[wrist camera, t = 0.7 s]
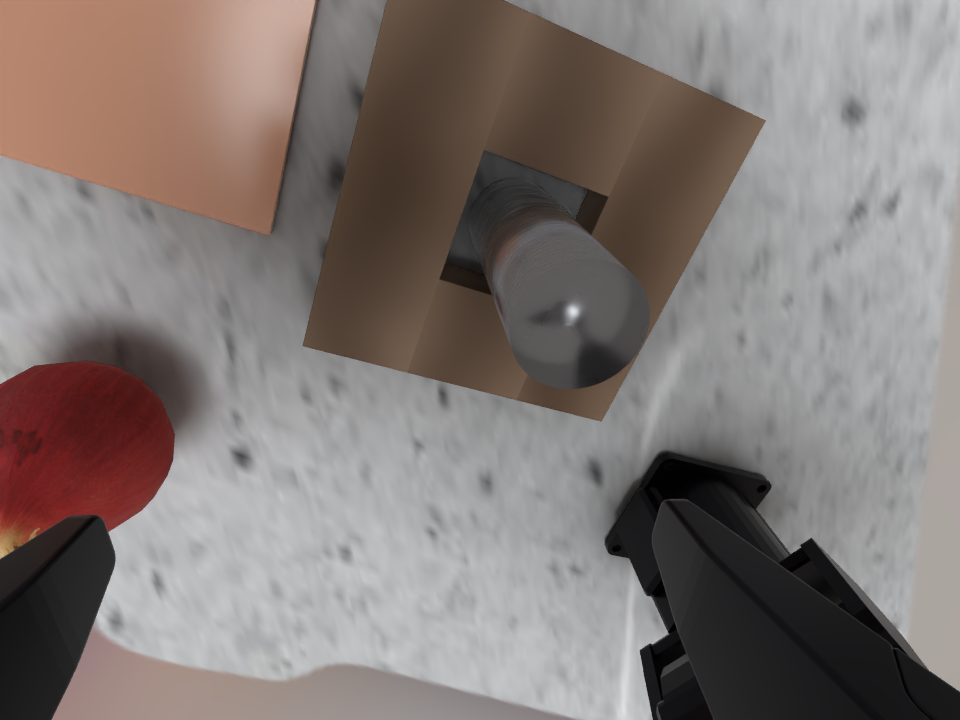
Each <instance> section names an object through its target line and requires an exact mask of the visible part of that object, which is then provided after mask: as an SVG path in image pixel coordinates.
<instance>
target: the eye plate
mask: <svg viewBox="0 0 960 720" xmlns="http://www.w3.org/2000/svg"><path fill="white" fill-rule="evenodd" d="M765 121H766V120H764V119H761V118H759V117H757V116H755V115H753V114H751V113H748V112H746V111H744V110H742V109H740V108H737V107H735V106H733V105H731V104H729V103H727V102H724V101H722V100H720V99H718V98H716V97H713V96H711V95H709V94H707V93H705V92H703V91H700V90H698V89H696V88H694V87H692V86H689V85H687V84H685V83H683V82H681V81H678V80H676V79H674V78H672V77H670V76H668V75H665V74H663V73H661V72H659V71H657V70H654V69H652V68H650V67H648V66H646V65H644V64H641V63H639V62H637V61H635V60H633V59H630V58H628V57H626V56H624V55H622V54H620V53H617V52H615V51H613V50H611V49H609V48H606V47H604V46H602V45H600V44H598V43H595V42H593V41H591V40H589V39H587V38H585V37H582V36H580V35H578V34H576V33H574V32H571V31H569V30H567V29H565V28H563V27H561V26H558V25H556V24H554V23H552V22H550V21H547V20H545V19H543V18H541V17H539V16H537V15H534V14H532V13H530V12H528V11H526V10H523V9H521V8H519V7H517V6H515V5H513V4H510V3H508V2H506V1H504V0H387V2H386V6H385V10H384V14H383V18H382V22H381V27H380V31H379V35H378V39H377V43H376V47H375V51H374V55H373V59H372V63H371V68H370V72H369V76H368V80H367V84H366V88H365V92H364V96H363V100H362V104H361V109H360V113H359V117H358V121H357V125H356V129H355V133H354V137H353V141H352V145H351V150H350V154H349V158H348V162H347V166H346V170H345V174H344V178H343V182H342V186H341V191H340V195H339V199H338V203H337V207H336V211H335V215H334V219H333V223H332V227H331V232H330V236H329V240H328V244H327V248H326V252H325V256H324V260H323V264H322V268H321V273H320V277H319V281H318V285H317V289H316V293H315V297H314V301H313V305H312V309H311V314H310V318H309V322H308V326H307V330H306V334H305V338H304V342H303V346H304V347H308V348H312V349H316V350H320V351H324V352H328V353H332V354H336V355H340V356H344V357H348V358H352V359H356V360H360V361H364V362H368V363H372V364H376V365H380V366H384V367H388V368H392V369H395V370H399V371H403V372H407V373H411V374H415V375H419V376H423V377H427V378H431V379H435V380H439V381H443V382H447V383H451V384H455V385H459V386H463V387H467V388H471V389H475V390H479V391H483V392H487V393H491V394H494V395H498V396H502V397H506V398H510V399H514V400H518V401H522V402H526V403H530V404H534V405H538V406H542V407H546V408H550V409H554V410H558V411H562V412H566V413H570V414H574V415H578V416H582V417H586V418H590V419H594V420H597V421H602V420H603V418H604V416H605V414H606V412H607V410H608V409H609V407H610V405H611V403H612V401H613V399H614V398H615V396H616V394H617V392H618V390H619V388H620V387H621V385H622V383H623V381H624V379H625V377H626V376H627V374H628V372H629V370H630V368H631V366H632V365H633V363H634V361H635V359H636V357H637V355H638V354H639V352H640V350H641V348H642V347H641V348H640V350H639V351H638V353H637V354H636V356H635V357H634V358H633V359H632V361H631V362H630V363H629V364H628V365H627V366H626V367H625V368H624V369H622V370H621V371H620V372H619V373H617V374H616V375H614V376H613V377H611V378H609V379H607V380H605V381H604V382H601V383H599V384H596V385H593V386H590V387H586V388H579V389H559V388H554V387H550V386H547V385H544V384H542V383H540V382H538V381H536V380H535V379H533V378H532V377H530V376H529V375H528V374H527V373H526V372H525V371H524V370H523V369H522V368H521V366H520V365H519V364H518V362H517V360H516V359H515V356H514V354H513V352H512V349H511V346H510V343H509V341H508V338H507V335H506V332H505V330H504V327H503V324H502V321H501V319H500V316H499V313H498V310H497V308H496V305H495V302H494V299H493V297H492V294H491V291H490V288H489V286H488V283H487V280H486V277H485V276H484V275H481V274H478V273H474V272H471V271H468V270H465V269H462V268H458V267H455V266H452V265H449V264H446V263H445V262H446V259H447V256H448V253H449V250H450V247H451V244H452V241H453V238H454V236H455V233H456V230H457V227H458V224H459V221H460V218H461V215H462V212H463V209H464V207H465V204H466V201H467V198H468V195H469V192H470V189H471V186H472V183H473V180H474V178H475V175H476V172H477V169H478V166H479V163H480V160H481V157H482V154H483V151H484V150H486V151H488V152H491V153H493V154H496V155H499V156H501V157H504V158H507V159H509V160H512V161H515V162H517V163H520V164H523V165H525V166H528V167H531V168H533V169H536V170H539V171H541V172H544V173H547V174H549V175H552V176H555V177H557V178H560V179H563V180H565V181H568V182H570V183H573V184H576V185H578V186H581V187H584V188H586V189H589V190H588V193H587V195H586V197H585V200H584V202H583V204H582V206H581V209H580V211H579V213H578V216H577V218H576V221H577V222H578V223H579V224H580V225H581V226H582V227H583V228H584V229H585V230H586V231H587V232H588V233H589V234H591V235H592V236H593V237H594V238H595V239H596V240H597V241H598V242H599V243H600V244H601V245H602V246H603V247H604V248H605V249H606V250H607V251H608V252H609V253H611V254H612V255H613V256H614V257H615V258H616V259H617V260H618V261H619V262H620V263H621V264H622V265H623V266H624V267H625V268H626V269H627V270H628V271H630V272H631V273H632V274H633V275H634V276H635V277H636V279H637V280H638V281H639V282H640V284H641V285H642V287H643V289H644V290H645V293H646V295H647V298H648V302H649V308H650V322H649V328H648V332H647V335H646V338H645V340H644V342H643V344H644V343H645V341H646V339H647V337H648V335H649V334H650V332H651V330H652V328H653V326H654V324H655V323H656V321H657V319H658V317H659V315H660V313H661V312H662V310H663V308H664V306H665V304H666V302H667V301H668V299H669V297H670V295H671V293H672V291H673V290H674V288H675V286H676V284H677V282H678V280H679V279H680V277H681V275H682V273H683V271H684V269H685V268H686V266H687V264H688V262H689V260H690V258H691V257H692V255H693V253H694V251H695V249H696V247H697V246H698V244H699V242H700V240H701V238H702V236H703V235H704V233H705V231H706V229H707V227H708V225H709V224H710V222H711V220H712V218H713V216H714V214H715V213H716V211H717V209H718V207H719V205H720V204H721V202H722V200H723V198H724V196H725V194H726V193H727V191H728V189H729V187H730V185H731V183H732V182H733V180H734V178H735V176H736V174H737V172H738V171H739V169H740V167H741V165H742V163H743V161H744V160H745V158H746V156H747V154H748V152H749V150H750V149H751V147H752V145H753V143H754V141H755V139H756V138H757V136H758V134H759V132H760V130H761V128H762V127H763V125H764V123H765ZM643 344H642V346H643Z"/></svg>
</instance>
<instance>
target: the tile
mask: <svg viewBox="0 0 960 720" xmlns="http://www.w3.org/2000/svg"><path fill="white" fill-rule="evenodd" d="M316 5H317V0H0V155H2V156H5V157H9V158H12V159H15V160H19V161H22V162H25V163H29V164H32V165H35V166H39V167H42V168H45V169H49V170H52V171H55V172H59V173H62V174H65V175H69V176H72V177H75V178H79V179H82V180H85V181H89V182H92V183H95V184H99V185H102V186H105V187H109V188H112V189H115V190H119V191H122V192H125V193H129V194H132V195H135V196H139V197H142V198H145V199H149V200H152V201H155V202H159V203H162V204H165V205H169V206H172V207H175V208H179V209H182V210H185V211H189V212H192V213H195V214H199V215H202V216H206V217H209V218H212V219H216V220H219V221H222V222H226V223H229V224H232V225H236V226H239V227H242V228H246V229H249V230H252V231H256V232H259V233H262V234H266V235H270V234H271V233H272V229H273V224H274V219H275V214H276V209H277V204H278V198H279V193H280V188H281V183H282V178H283V173H284V168H285V163H286V158H287V153H288V148H289V142H290V137H291V132H292V127H293V122H294V117H295V112H296V107H297V102H298V97H299V92H300V87H301V81H302V76H303V71H304V66H305V61H306V56H307V51H308V46H309V41H310V36H311V31H312V26H313V20H314V15H315V10H316Z"/></svg>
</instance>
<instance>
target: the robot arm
mask: <svg viewBox="0 0 960 720" xmlns="http://www.w3.org/2000/svg"><path fill="white" fill-rule="evenodd" d="M667 463H669V464H668V465H665V464H667ZM664 465H665V466H664ZM770 489H771V484H770V482H769V481H768V480H767V479H766V478H765V477H764V476H761V475H757V474H752V473H748V472H744V471H740V470H736V469H732V468H728V467H724V466H720V465H716V464H712V463H707V462H703V461H699V460H695V459H691V458H687V457H683V456H679V455H675V454H671V453H665V454H662V455H661V456H659V457H658V458H657V459H656V461H655V462H654V464H653V466H652V467H651V469H650V470H649V472H648V474H647V475H646V477H645V478H644V480H643V482H642V483H641V485H640V487H639V488H638V490H637V491H636V493H635V495H634V496H633V498H632V499H631V501H630V503H629V504H628V506H627V507H626V509H625V511H624V512H623V514H622V516H621V517H620V519H619V520H618V522H617V524H616V525H615V527H614V528H613V530H612V532H611V533H610V535H609V536H608V538H607V540H606V542H605V547H606V549H607V551H608V553H609V554H611V555H615V556H620V557H626V558H629V559H630V561H631V563H632V565H633V568H634V570H635V572H636V574H637V577H638V579H639V581H640V583H641V586H642V588H643V590H644V592H645V594H646V595H647V596H652V598H653V600H654V602H655V605H656V607H657V609H658V611H659V613H660V616H661V618H662V620H663V622H664V624H665V627H666V629H667V631H668V633H669V634H668V635H666V636H665V637H663V638H662V639H660V640H659V641H657V642H656V643H654V644H653V645H652V644H648V645H647V646H645V647H644V648H642V649H641V650H640V655H641V660H642V665H643V672H644V677H645V682H646V687H647V692H648V697H649V702H650V707H651V712H652V717H653V720H960V692H959V691H958V690H956V689H955V688H953V687H952V686H951V685H949V684H948V683H946V682H945V681H943V680H942V679H940V678H939V677H937V676H936V675H935V674H933V673H932V672H930V671H929V670H928V669H927V667H926V666H925V665H924V663H923V662H922V661H921V660H920V658H919V657H918V656H917V654H916V653H915V652H914V650H913V649H912V648H911V646H910V645H909V644H908V643H907V641H906V640H905V639H904V637H903V636H902V635H901V634H900V632H899V631H898V630H897V629H896V628H895V627H894V626H893V624H892V623H891V622H890V621H889V620H888V619H887V618H886V616H885V615H884V614H883V613H882V612H881V611H880V610H879V608H878V607H877V606H876V605H875V604H874V603H873V602H872V601H871V599H870V598H869V597H868V596H867V595H866V594H865V593H864V591H863V590H862V589H861V588H860V587H859V586H858V585H857V584H856V583H855V582H854V581H853V580H852V579H851V578H850V577H849V576H848V575H847V574H846V572H845V571H844V570H843V569H842V568H841V567H840V566H839V565H838V564H837V563H836V562H835V561H834V560H833V559H832V558H831V557H830V556H829V555H828V554H827V553H826V552H825V551H824V550H823V549H822V548H821V547H820V546H819V545H818V544H817V543H816V542H815V541H814V540H813V539H812V538H810V539H809V540H807V541H806V542H804V543H803V544H801V545H800V546H801V548H800V549H798V550H797V551H795V552H794V553H792V554H790V552H789V551H788V550H787V549H786V547H785V546H784V545H783V543H782V542H781V541H780V540H779V538H778V537H777V536H776V534H775V533H774V532H773V531H772V529H771V528H770V527H769V525H768V524H767V523H766V522H765V520H764V519H763V518H762V516H761V515H760V514H759V513H758V511H757V510H756V508H757V507H758V505H759V504H760V503H761V501H762V500H763V499H764V497H765V496H766V495H767V493H768V492H769V491H770ZM114 566H115V551H114V548H113V545H112V542H111V539H110V536H109V533H108V530H107V527H106V525H105V522H104V520H103V518H102V517H100V516H99V515H73V516H69V517H66V518H65V519H63V520H61V521H59V522H58V523H56V524H55V525H53V526H52V527H50V528H48V529H47V530H45V531H44V532H42V533H40V534H39V535H37V536H36V537H34V538H32V539H31V540H29V541H28V542H26V543H25V544H23V545H21V546H20V547H18V548H17V549H15V550H13V551H12V552H10V553H9V554H7V555H5V556H4V557H2V558H1V559H0V720H52V718H53V715H54V713H55V711H56V709H57V707H58V705H59V703H60V701H61V699H62V697H63V695H64V693H65V691H66V689H67V687H68V685H69V683H70V681H71V678H72V676H73V674H74V672H75V670H76V668H77V665H78V663H79V660H80V658H81V655H82V653H83V651H84V648H85V645H86V642H87V640H88V637H89V634H90V632H91V629H92V626H93V624H94V621H95V618H96V616H97V613H98V610H99V607H100V605H101V602H102V599H103V597H104V594H105V591H106V589H107V586H108V583H109V581H110V578H111V575H112V572H113V570H114Z"/></svg>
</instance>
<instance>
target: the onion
mask: <svg viewBox="0 0 960 720" xmlns="http://www.w3.org/2000/svg"><path fill="white" fill-rule="evenodd" d="M174 438H175V433H174V431H173V428H172V426H171V423H170V421H169V418H168V416H167V413H166V411H165V408H164V406H163V403H162V401H161V399H160V398H159V397H158V396H157V395H156V394H155V393H154V392H153V391H152V390H151V389H150V388H149V387H148V386H147V385H146V384H145V383H144V381H143V380H141V379H139V378H137V377H135V376H133V375H131V374H129V373H128V372H126V371H124V370H122V369H120V368H118V367H115V366H110V365H106V364H101V363H96V362H91V361H78V362H67V363H56V364H47V365H38V366H33V367H31V368H29V369H28V370H26V371H24V372H22V373H20V374H18V375H16V376H14V377H13V378H11V379H9V380H7V381H5V382H3V383H2V384H0V559H1V558H2V557H4V556H5V555H7V554H9V553H10V552H12V551H13V550H15V549H17V548H18V547H20V546H21V545H23V544H25V543H26V542H28V541H29V540H31V539H32V538H34V537H36V536H37V535H39V534H40V533H42V532H44V531H45V530H47V529H48V528H50V527H52V526H53V525H55V524H56V523H58V522H59V521H61V520H63V519H65V518H66V517H69V516H73V515H99V516H100V517H102V518H103V520H104V522H105V525H106V527H107V530H108V532H109V531H111V530H112V529H114V528H115V527H117V526H118V525H120V524H122V523H123V522H125V521H126V520H128V519H129V518H131V517H132V516H134V515H135V514H137V513H139V512H140V511H142V510H143V508H144V507H145V506H146V505H147V504H148V503H149V502H150V501H151V500H152V499H153V498H154V496H155V495H156V493H157V491H158V490H159V488H160V487H161V485H162V483H163V482H164V480H165V479H166V477H167V475H168V473H169V470H170V467H171V464H172V462H173V454H174Z"/></svg>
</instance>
